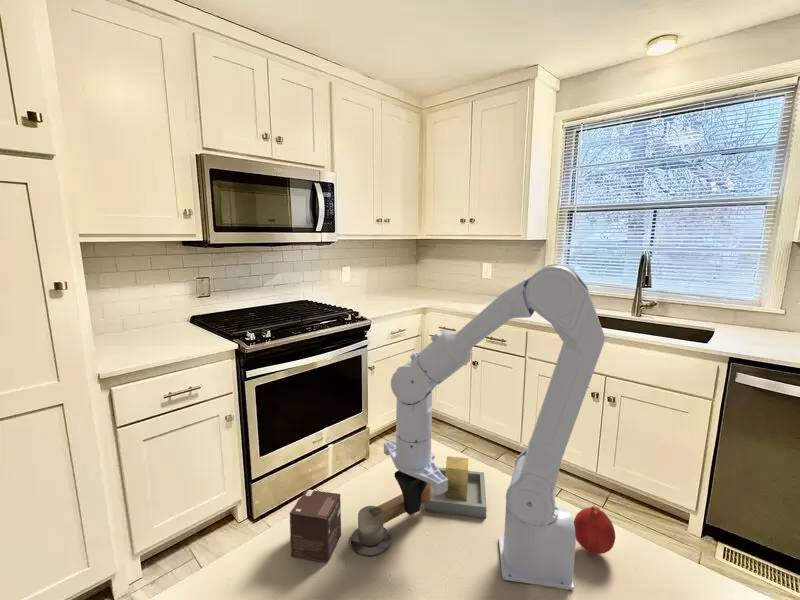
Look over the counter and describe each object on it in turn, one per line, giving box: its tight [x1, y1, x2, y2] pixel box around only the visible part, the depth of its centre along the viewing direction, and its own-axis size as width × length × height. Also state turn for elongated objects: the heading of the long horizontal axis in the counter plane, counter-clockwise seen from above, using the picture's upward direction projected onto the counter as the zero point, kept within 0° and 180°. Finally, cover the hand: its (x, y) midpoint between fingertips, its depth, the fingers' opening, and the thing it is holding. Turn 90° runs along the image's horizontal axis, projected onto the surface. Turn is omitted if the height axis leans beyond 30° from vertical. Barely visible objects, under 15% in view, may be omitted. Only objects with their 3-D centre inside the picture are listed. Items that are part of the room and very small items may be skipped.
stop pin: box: [445, 455, 469, 501], centre depth 73 cm, size 4×4×6 cm
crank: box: [357, 483, 431, 546], centre depth 65 cm, size 14×4×5 cm, turn 129°
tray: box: [424, 467, 488, 519], centre depth 74 cm, size 11×11×2 cm
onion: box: [573, 505, 616, 556], centre depth 60 cm, size 6×6×8 cm
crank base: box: [349, 526, 392, 558], centre depth 62 cm, size 6×6×1 cm
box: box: [289, 489, 342, 563], centre depth 61 cm, size 6×6×7 cm
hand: (412, 511), depth 65 cm, fingers closed, pressing on crank
